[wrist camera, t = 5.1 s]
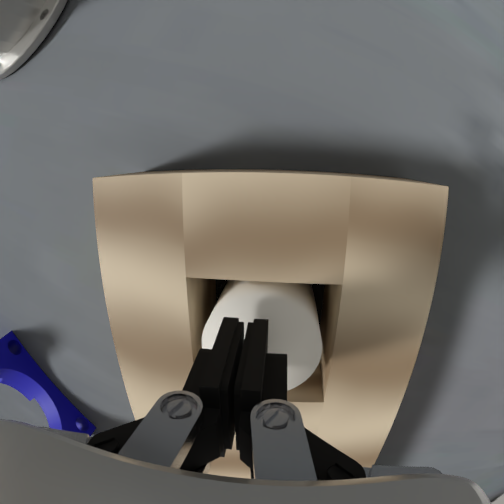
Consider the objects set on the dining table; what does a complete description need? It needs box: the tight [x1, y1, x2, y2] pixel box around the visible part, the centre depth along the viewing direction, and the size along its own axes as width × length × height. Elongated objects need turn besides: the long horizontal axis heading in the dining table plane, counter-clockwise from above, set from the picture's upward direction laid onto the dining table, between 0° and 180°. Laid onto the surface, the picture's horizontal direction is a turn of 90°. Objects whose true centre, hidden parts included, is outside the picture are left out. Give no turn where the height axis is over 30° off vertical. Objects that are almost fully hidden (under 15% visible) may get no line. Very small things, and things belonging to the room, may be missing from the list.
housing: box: [93, 169, 449, 479], centre depth 17 cm, size 30×14×5 cm, turn 179°
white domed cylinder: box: [202, 280, 322, 391], centre depth 15 cm, size 5×5×5 cm
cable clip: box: [0, 331, 96, 436], centre depth 20 cm, size 12×4×6 cm, turn 37°
